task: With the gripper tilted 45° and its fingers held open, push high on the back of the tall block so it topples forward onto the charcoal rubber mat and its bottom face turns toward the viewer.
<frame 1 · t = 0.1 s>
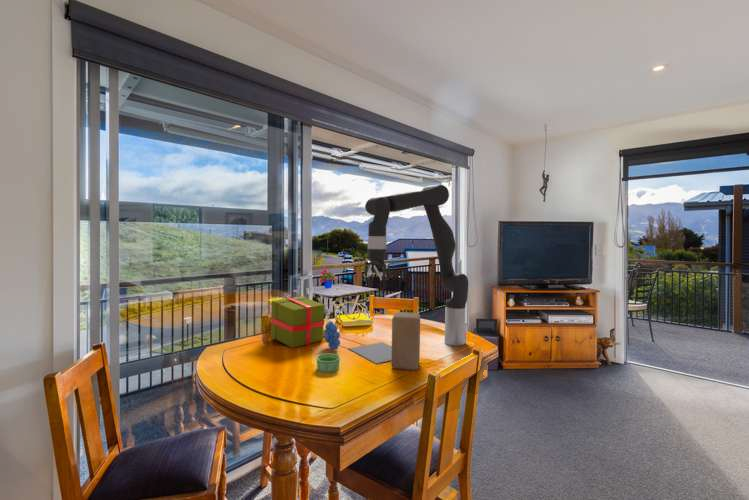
hand: (376, 288, 147), 29 cm above the table, tool pointing down, fingers open, 8 cm apart
ramekin: (328, 369, 139), on the table
mat: (379, 352, 159), on the table
block: (405, 366, 144), on the table
gift box: (294, 340, 176), on the table
grapes: (330, 349, 162), on the table
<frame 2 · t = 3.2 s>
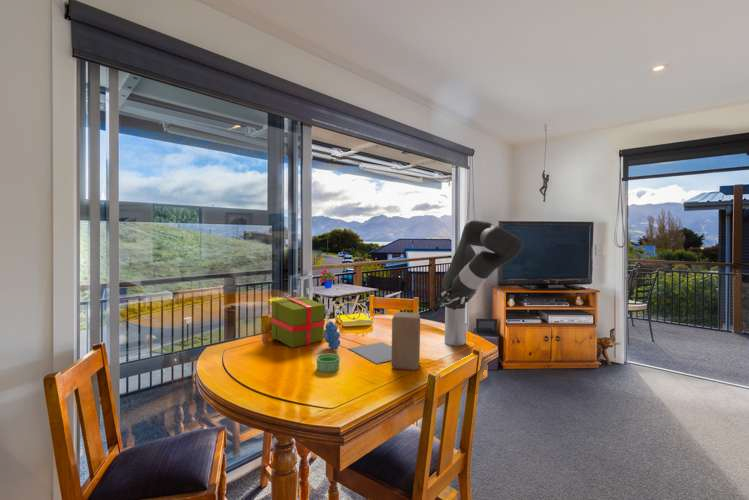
hand: (443, 309, 125), 26 cm above the table, tool tilted 45°, fingers open, 8 cm apart
nothing on the table moved.
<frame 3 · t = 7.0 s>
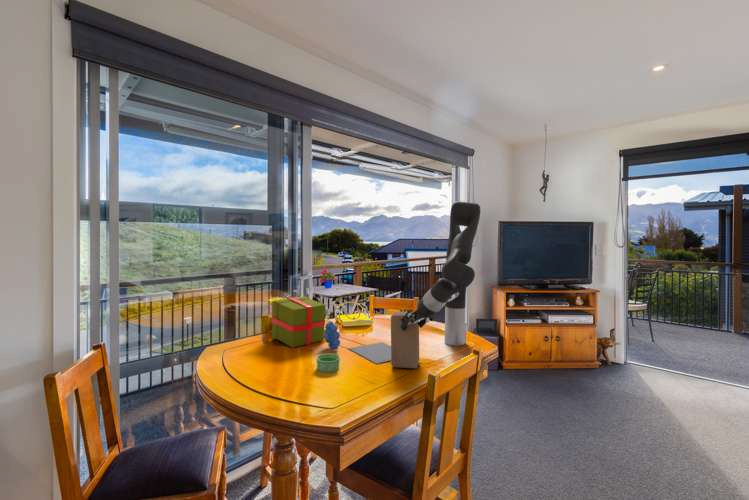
hand: (411, 327, 141), 16 cm above the table, tool tilted 45°, fingers open, 8 cm apart
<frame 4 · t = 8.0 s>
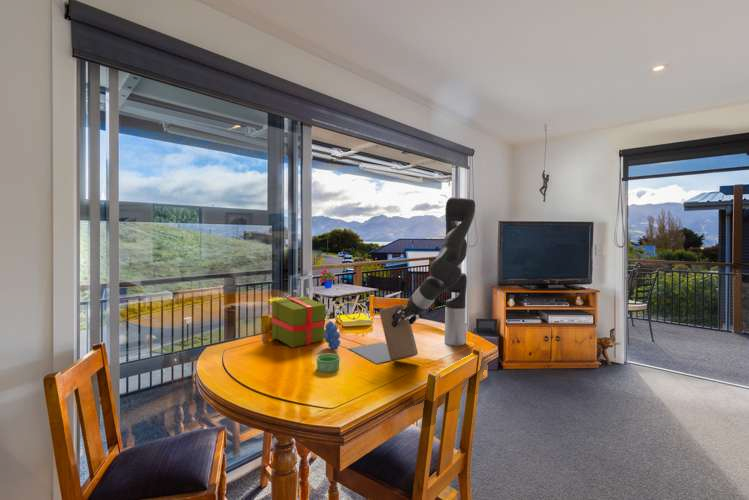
hand: (401, 323, 145), 16 cm above the table, tool tilted 45°, fingers open, 8 cm apart
block: (404, 358, 144), point 3 cm above the table
everything else where it was.
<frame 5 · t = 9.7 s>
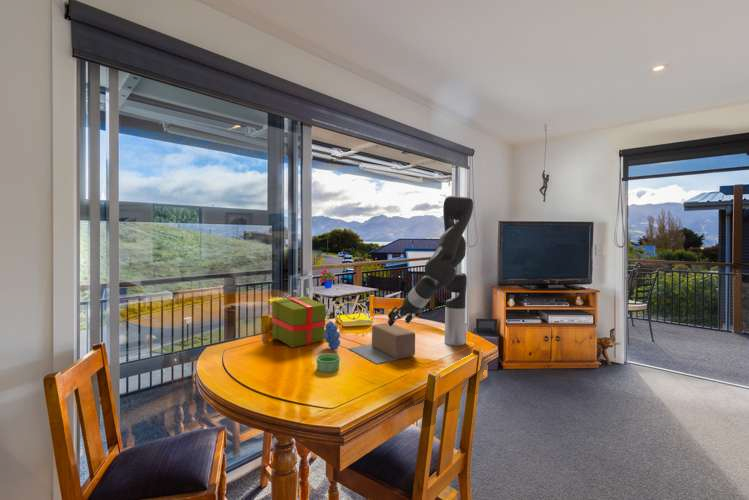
hand: (398, 322, 147), 16 cm above the table, tool tilted 45°, fingers open, 8 cm apart
block: (406, 346, 151), point 5 cm above the table, touching mat
everything else where it was.
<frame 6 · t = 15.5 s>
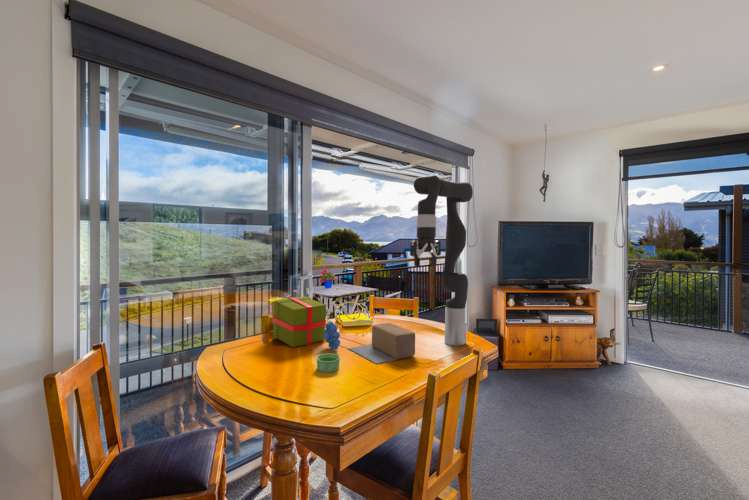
hand: (425, 266, 148), 38 cm above the table, tool pointing down, fingers open, 8 cm apart
at the end: block tilted 90°; block inside the target area (5.2 cm from its centre), point 5.4 cm above the table; block touching mat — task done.
